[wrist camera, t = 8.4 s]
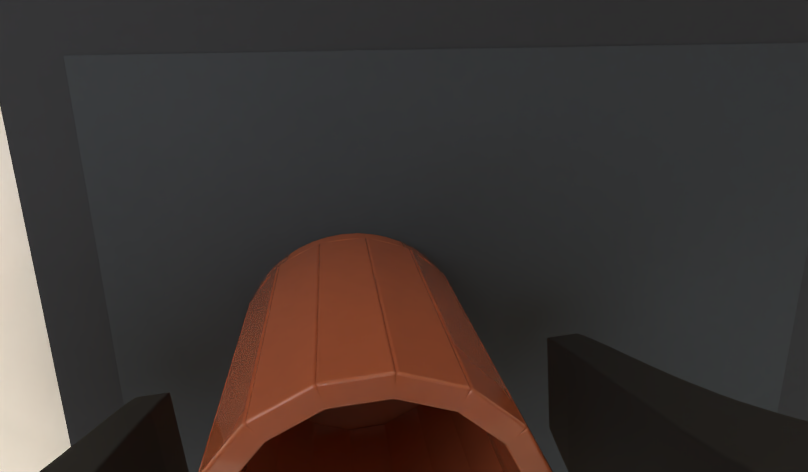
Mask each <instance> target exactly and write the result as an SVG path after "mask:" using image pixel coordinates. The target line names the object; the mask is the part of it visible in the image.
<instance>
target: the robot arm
mask: <svg viewBox="0 0 808 472" xmlns="http://www.w3.org/2000/svg"><path fill="white" fill-rule="evenodd" d="M547 356H548V397H549V428H550V431H551V433H552V435H553V438H554V440H555V443H556V445H557V447H558V450H559V452H560V454H561V457H562V459H563V461H564V463H565V465H566V468H567V470H568V472H808V421H805V420H801V419H797V418H794V417H790V416H786V415H783V414H779V413H776V412H773V411H770V410H766V409H763V408H760V407H757V406H754V405H751V404H747V403H744V402H741V401H738V400H735V399H732V398H729V397H727V396H724V395H721V394H718V393H716V392H713V391H710V390H708V389H705V388H703V387H700V386H698V385H695V384H693V383H690V382H687V381H685V380H683V379H680V378H678V377H676V376H673V375H671V374H668V373H666V372H664V371H662V370H659V369H657V368H655V367H653V366H650V365H648V364H646V363H644V362H642V361H639V360H637V359H635V358H633V357H631V356H629V355H627V354H624V353H622V352H620V351H618V350H616V349H614V348H612V347H609V346H607V345H605V344H603V343H601V342H598V341H596V340H594V339H591V338H589V337H586V336H584V335H581V334H578V333H576V334H569V335H562V336H555V337H549V338H547ZM40 472H189V470H188V466H187V462H186V458H185V454H184V449H183V445H182V441H181V437H180V433H179V429H178V424H177V420H176V416H175V412H174V408H173V404H172V399H171V395H170V392H169V393H162V394H155V395H148V396H141V397H136V398H134V399H132V400H131V401H129V402H128V403H126V404H125V405H124V406H122V407H121V408H120V409H118V410H117V411H116V412H114V413H113V414H112V415H111V416H109V417H108V418H107V419H105V420H104V421H103V422H102V423H100V424H99V425H98V426H97V427H95V428H94V429H93V430H92V431H91V432H89V433H88V434H87V435H86V436H84V437H83V438H82V439H80V440H79V441H78V442H77V443H75V444H74V445H73V446H72V447H70V448H69V449H68V450H67V451H65V452H64V453H63V454H62V455H60V456H59V457H58V458H57V459H55V460H54V461H53V462H52V463H50V464H49V465H48V466H46V467H45V468H44V469H42V470H41V471H40Z"/></svg>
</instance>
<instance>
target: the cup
mask: <svg viewBox="0 0 808 472" xmlns="http://www.w3.org/2000/svg"><path fill="white" fill-rule="evenodd" d="M198 472H553V471H552V469H551V467H550V466H549V464H548V462H547V460H546V458H545V457H544V455H543V453H542V451H541V449H540V447H539V446H538V444H537V442H536V440H535V438H534V436H533V435H532V433H531V431H530V429H529V427H528V425H527V424H526V422H525V420H524V418H523V416H522V415H521V413H520V411H519V409H518V407H517V405H516V404H515V402H514V400H513V398H512V396H511V395H510V393H509V391H508V389H507V387H506V385H505V384H504V382H503V380H502V378H501V376H500V375H499V373H498V371H497V369H496V367H495V365H494V364H493V362H492V360H491V358H490V356H489V355H488V353H487V351H486V349H485V347H484V345H483V344H482V342H481V340H480V338H479V336H478V335H477V333H476V331H475V329H474V327H473V326H472V324H471V322H470V320H469V318H468V316H467V315H466V313H465V311H464V309H463V307H462V306H461V304H460V302H459V300H458V298H457V296H456V295H455V293H454V291H453V289H452V287H451V286H450V284H449V282H448V280H447V278H446V277H445V276H444V275H443V273H442V272H441V271H440V270H439V269H438V268H437V267H436V265H435V264H434V263H433V262H431V261H430V260H429V259H428V258H427V257H426V256H425V255H423V254H422V253H420V252H419V251H417V250H416V249H414V248H412V247H410V246H408V245H406V244H404V243H402V242H400V241H397V240H394V239H391V238H388V237H384V236H379V235H373V234H361V233H353V234H340V235H335V236H330V237H326V238H323V239H319V240H316V241H313V242H311V243H309V244H307V245H305V246H303V247H300V248H299V249H297V250H295V251H294V252H292V253H291V254H289V255H288V256H286V257H285V258H284V259H283V260H281V261H280V262H279V263H278V264H277V265H276V266H275V267H274V268H273V269H272V270H271V271H270V272H269V273H268V274H267V275H266V277H265V278H264V279H263V281H262V282H261V284H260V285H259V287H258V288H257V290H256V292H255V294H254V296H253V298H252V299H251V302H250V303H249V306H248V309H247V313H246V316H245V319H244V323H243V326H242V329H241V332H240V336H239V339H238V342H237V346H236V349H235V352H234V355H233V359H232V362H231V365H230V369H229V372H228V375H227V378H226V382H225V385H224V388H223V392H222V395H221V398H220V401H219V405H218V408H217V411H216V415H215V418H214V421H213V424H212V428H211V431H210V434H209V438H208V441H207V444H206V447H205V451H204V454H203V457H202V461H201V464H200V467H199V470H198Z"/></svg>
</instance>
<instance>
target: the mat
mask: <svg viewBox="0 0 808 472" xmlns="http://www.w3.org/2000/svg"><path fill="white" fill-rule="evenodd" d="M0 106H1V111H2V116H3V121H4V125H5V130H6V135H7V140H8V145H9V149H10V154H11V159H12V164H13V169H14V174H15V178H16V183H17V188H18V193H19V198H20V202H21V207H22V212H23V217H24V222H25V227H26V231H27V236H28V241H29V246H30V251H31V256H32V260H33V265H34V270H35V275H36V280H37V284H38V289H39V294H40V299H41V304H42V309H43V313H44V318H45V323H46V328H47V333H48V337H49V342H50V347H51V352H52V357H53V362H54V366H55V371H56V376H57V381H58V386H59V391H60V395H61V400H62V405H63V410H64V415H65V419H66V424H67V429H68V434H69V439H70V444H71V447H72V446H73V445H74V444H75V443H77V442H78V441H79V440H80V439H82V438H83V437H84V436H86V435H87V434H88V433H89V432H91V431H92V430H93V429H94V428H95V427H97V426H98V425H99V424H100V423H102V422H103V421H104V420H105V419H107V418H108V417H109V416H111V415H112V414H113V413H114V412H116V411H117V410H118V409H120V408H121V407H122V406H124V405H125V404H126V403H128V402H129V401H131V400H132V399H134V398H136V397H141V396H148V395H155V394H162V393H169V392H170V395H171V399H172V404H173V408H174V412H175V416H176V420H177V424H178V429H179V433H180V437H181V441H182V445H183V449H184V454H185V458H186V462H187V466H188V470H189V472H198V470H199V467H200V464H201V461H202V457H203V454H204V451H205V447H206V444H207V441H208V438H209V434H210V431H211V428H212V424H213V421H214V418H215V415H216V411H217V408H218V405H219V401H220V398H221V395H222V392H223V388H224V385H225V382H226V378H227V375H228V372H229V369H230V365H231V362H232V359H233V355H234V352H235V349H236V346H237V342H238V339H239V336H240V332H241V329H242V326H243V323H244V319H245V316H246V313H247V309H248V306H249V303H250V302H251V299H252V298H253V296H254V294H255V292H256V290H257V288H258V287H259V285H260V284H261V282H262V281H263V279H264V278H265V277H266V275H267V274H268V273H269V272H270V271H271V270H272V269H273V268H274V267H275V266H276V265H277V264H278V263H279V262H280V261H281V260H283V259H284V258H285V257H286V256H288V255H289V254H291V253H292V252H294V251H295V250H297V249H299V248H300V247H303V246H305V245H307V244H309V243H311V242H313V241H316V240H319V239H323V238H326V237H330V236H335V235H340V234H353V233H361V234H373V235H379V236H384V237H388V238H391V239H394V240H397V241H400V242H402V243H404V244H406V245H408V246H410V247H412V248H414V249H416V250H417V251H419V252H420V253H422V254H423V255H425V256H426V257H427V258H428V259H429V260H430V261H431V262H433V263H434V264H435V265H436V267H437V268H438V269H439V270H440V271H441V272H442V273H443V275H444V276H445V277H446V278H447V280H448V282H449V284H450V286H451V287H452V289H453V291H454V293H455V295H456V296H457V298H458V300H459V302H460V304H461V306H462V307H463V309H464V311H465V313H466V315H467V316H468V318H469V320H470V322H471V324H472V326H473V327H474V329H475V331H476V333H477V335H478V336H479V338H480V340H481V342H482V344H483V345H484V347H485V349H486V351H487V353H488V355H489V356H490V358H491V360H492V362H493V364H494V365H495V367H496V369H497V371H498V373H499V375H500V376H501V378H502V380H503V382H504V384H505V385H506V387H507V389H508V391H509V393H510V395H511V396H512V398H513V400H514V402H515V404H516V405H517V407H518V409H519V411H520V413H521V415H522V416H523V418H524V420H525V422H526V424H527V425H528V427H529V429H530V431H531V433H532V435H533V436H534V438H535V440H536V442H537V444H538V446H539V447H540V449H541V451H542V453H543V455H544V457H545V458H546V460H547V462H548V464H549V466H550V467H551V469H552V471H553V472H568V470H567V468H566V465H565V463H564V461H563V459H562V457H561V454H560V452H559V450H558V447H557V445H556V443H555V440H554V438H553V435H552V433H551V431H550V428H549V397H548V356H547V338H549V337H555V336H562V335H569V334H576V333H578V334H581V335H584V336H586V337H589V338H591V339H594V340H596V341H598V342H601V343H603V344H605V345H607V346H609V347H612V348H614V349H616V350H618V351H620V352H622V353H624V354H627V355H629V356H631V357H633V358H635V359H637V360H639V361H642V362H644V363H646V364H648V365H650V366H653V367H655V368H657V369H659V370H662V371H664V372H666V373H668V374H671V375H673V376H676V377H678V378H680V379H683V380H685V381H687V382H690V383H693V384H695V385H698V386H700V387H703V388H705V389H708V390H710V391H713V392H716V393H718V394H721V395H724V396H727V397H729V398H732V399H735V400H738V401H741V402H744V403H747V404H751V405H754V406H757V407H760V408H763V409H766V410H770V411H773V412H776V413H779V414H783V415H786V416H790V417H794V418H797V419H801V420H805V421H808V0H0Z"/></svg>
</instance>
